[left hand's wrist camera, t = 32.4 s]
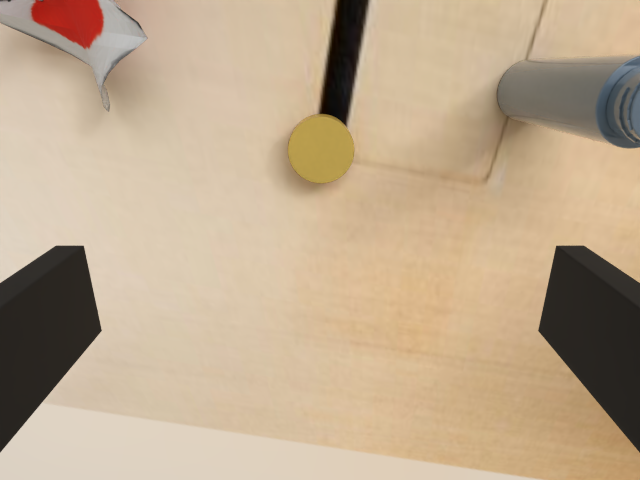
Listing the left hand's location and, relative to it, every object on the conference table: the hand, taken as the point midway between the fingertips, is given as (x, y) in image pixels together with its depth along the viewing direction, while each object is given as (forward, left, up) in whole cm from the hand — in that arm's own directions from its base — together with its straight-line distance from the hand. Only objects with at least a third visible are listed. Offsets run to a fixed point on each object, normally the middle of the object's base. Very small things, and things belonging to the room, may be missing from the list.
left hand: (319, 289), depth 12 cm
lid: (0, 0, -24) cm, 24 cm away
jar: (+9, +15, -26) cm, 31 cm away
